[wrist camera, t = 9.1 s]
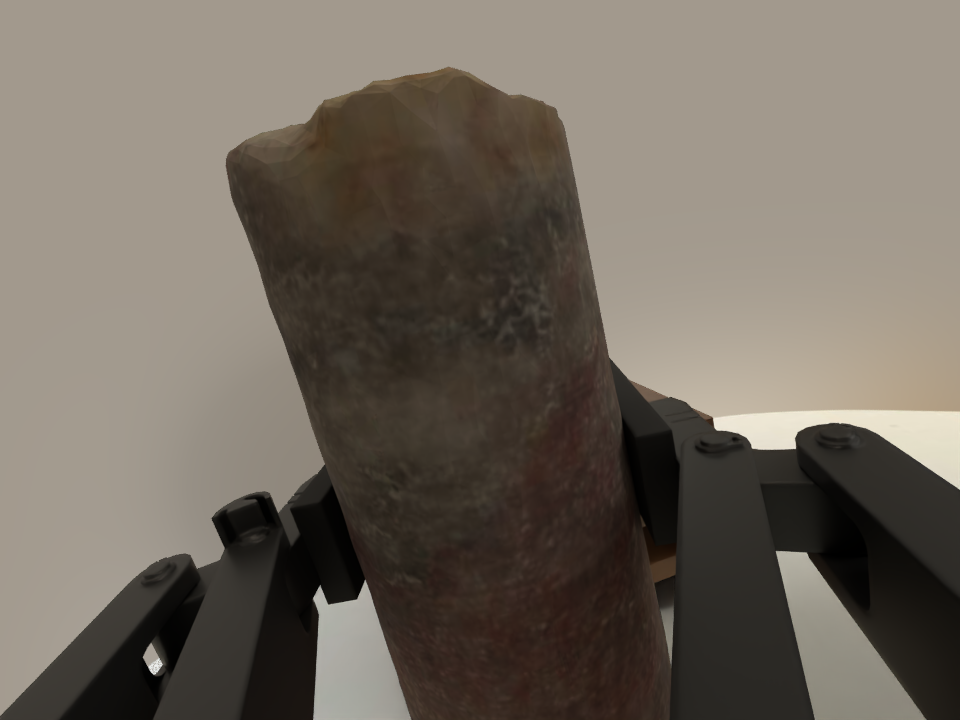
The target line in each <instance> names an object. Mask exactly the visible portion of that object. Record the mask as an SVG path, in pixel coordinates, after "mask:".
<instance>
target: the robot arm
mask: <svg viewBox="0 0 960 720" xmlns="http://www.w3.org/2000/svg"><path fill="white" fill-rule="evenodd" d="M609 360H610V365H611V370H612V374H613V379H614V384H615V389H616V394H617V398H618V403H619V407H620V412H621V417H622V423H623V429H624V435H625V441H626V446H627V451H628V456H629V461H630V466H631V471H632V476H633V481H634V486H635V491H636V496H637V501H638V507H639V512H640V515H641V517H642V519H643V521H644V523H645V525H646V527H647V529H648V531H649V533H650V535H651V537H652V539H653V541H654V543H655V546H660V545H666V544H672V543H677V548H676V572H675V597H674V621H673V645H672V669H671V693H670V717H669V720H815V718H814V714H813V710H812V705H811V701H810V697H809V692H808V688H807V684H806V679H805V675H804V671H803V667H802V662H801V658H800V654H799V649H798V645H797V641H796V637H795V632H794V628H793V624H792V619H791V615H790V611H789V607H788V602H787V598H786V594H785V589H784V585H783V581H782V576H781V572H780V568H779V564H778V559H777V555H776V551H790V552H807V554H808V556H809V558H810V560H811V561H812V563H813V564H814V565H815V567H816V568H817V569H818V571H819V572H820V574H821V575H822V576H823V578H824V579H825V580H826V582H827V583H828V585H829V586H830V587H831V589H832V590H833V591H834V593H835V594H836V596H837V597H838V598H839V600H840V601H841V603H842V604H843V605H844V607H845V608H846V609H847V611H848V612H849V614H850V615H851V616H852V618H853V619H854V620H855V622H856V623H857V625H858V626H859V627H860V629H861V630H862V631H863V633H864V634H865V636H866V637H867V638H868V640H869V641H870V642H871V644H872V645H873V647H874V648H875V649H876V651H877V652H878V653H879V655H880V656H881V658H882V659H883V660H884V662H885V663H886V664H887V666H888V667H889V669H890V670H891V671H892V673H893V674H894V676H895V677H896V678H897V680H898V681H899V682H900V684H901V685H902V687H903V688H904V689H905V691H906V692H907V693H908V695H909V696H910V698H911V699H912V700H913V702H914V703H915V704H916V706H917V707H918V709H919V710H920V711H921V713H922V714H923V715H924V717H925V718H926V720H960V490H959V489H958V488H956V487H955V486H953V485H952V484H950V483H949V482H947V481H946V480H945V479H943V478H942V477H940V476H939V475H937V474H936V473H934V472H933V471H931V470H930V469H928V468H927V467H925V466H924V465H922V464H921V463H919V462H918V461H916V460H915V459H914V458H912V457H911V456H909V455H908V454H906V453H905V452H903V451H902V450H900V449H899V448H897V447H896V446H894V445H893V444H891V443H890V442H888V441H887V440H885V439H884V438H883V437H881V436H880V435H878V434H876V433H874V432H872V431H870V430H868V429H866V428H861V427H857V426H853V425H850V424H843V423H841V424H839V423H829V424H823V425H816V426H812V427H807V428H805V429H803V430H801V431H800V432H798V434H797V436H796V438H795V441H796V449H787V450H758V449H752V448H751V444H750V442H749V441H748V439H747V438H746V437H744V436H742V435H740V434H737V433H733V432H728V431H717V430H716V429H714V428H713V427H712V426H711V425H710V424H709V423H708V422H707V421H706V420H705V419H703V418H702V417H700V415H699V414H698V413H697V412H696V411H694V410H693V408H691V407H690V406H689V405H688V404H687V403H686V402H684V401H681V400H678V399H675V398H672V397H669V398H664V399H660V400H655V401H650V402H647V400H646V399H645V398H644V397H643V396H642V395H641V394H640V392H639V391H638V390H637V389H636V388H635V387H634V385H633V384H632V383H631V382H630V381H629V380H628V379H627V377H626V376H625V375H624V374H623V373H622V372H621V371H620V369H619V368H618V367H617V366H616V365H615V364H614V363H613V361H612V360H611V359H610V358H609ZM212 521H213V523H214V525H215V528H216V529H217V532H218V534H219V536H220V538H221V541H222V543H223V545H224V547H225V550H224V552H223V555H222V557H221V559H220V560H219V561H217V562H214V563H211V564H209V565H207V566H204V567H201V568H198V569H197V568H196V566H195V564H194V562H193V560H192V558H191V555H188V554H179V555H175V556H172V557H169V558H163V559H161V560H159V562H155V563H153V564H152V565H150V566H149V567H148V568H147V569H146V570H144V571H143V572H141V573H140V574H139V575H138V576H136V577H135V578H134V579H133V580H132V581H131V582H130V583H129V584H128V585H127V586H126V587H125V588H124V589H123V590H122V591H121V592H120V593H119V594H118V595H117V596H116V597H115V598H114V599H113V600H112V601H111V602H110V603H109V604H108V605H107V607H106V608H105V609H104V610H103V611H102V612H101V613H100V614H99V615H98V616H97V617H96V618H95V619H94V620H93V621H92V622H91V623H90V624H89V625H88V626H87V627H86V628H85V629H84V630H83V631H82V632H81V633H80V634H79V635H78V637H76V639H75V640H74V641H73V642H72V643H71V644H70V645H69V646H68V647H67V648H66V649H65V650H64V651H63V652H62V653H61V654H60V655H59V656H58V657H57V658H56V659H55V660H54V661H53V662H52V663H51V664H50V665H49V666H48V667H47V669H45V671H44V672H43V673H42V674H41V675H40V676H39V677H38V678H37V679H36V680H35V681H34V682H33V683H32V684H31V685H30V686H29V687H28V688H27V689H26V690H25V691H24V692H23V693H22V694H21V695H20V696H19V698H17V699H16V701H15V702H14V703H13V704H12V705H11V706H10V707H9V708H8V709H7V710H6V711H5V712H4V713H3V714H2V715H1V716H0V720H313V714H314V696H315V677H316V658H317V639H318V621H319V614H318V610H317V607H316V605H315V602H314V600H313V597H314V595H315V594H316V592H317V590H318V588H319V586H320V585H321V588H322V590H323V593H324V595H325V598H326V600H327V603H328V604H334V603H340V602H345V601H351V600H356V599H357V598H358V596H359V594H360V591H361V589H362V586H363V584H364V581H365V577H364V574H363V571H362V569H361V566H360V563H359V561H358V558H357V555H356V552H355V550H354V547H353V544H352V542H351V539H350V536H349V532H348V529H347V525H346V522H345V519H344V515H343V512H342V509H341V506H340V504H339V501H338V498H337V495H336V493H335V490H334V487H333V485H332V482H331V479H330V476H329V474H328V471H327V468H326V465H324V466H323V467H322V469H321V470H320V471H319V472H318V474H316V475H314V476H313V477H312V478H310V479H309V480H308V481H306V482H305V483H304V484H302V486H301V487H300V488H299V489H298V490H297V492H296V493H295V494H294V496H292V498H291V499H290V500H289V501H288V504H286V505H285V506H284V507H283V508H282V510H281V511H280V512H279V513H278V512H277V510H276V507H275V505H274V502H273V500H272V497H271V495H270V493H268V492H256V493H253V494H249V495H246V496H243V497H241V498H239V499H237V500H234V501H233V502H231V503H229V504H227V505H226V506H224V507H223V508H221V509H220V510H219V511H218V512H216V513H215V515H214V516H213V517H212ZM150 643H152V645H153V646H154V648H155V650H156V652H157V654H158V656H159V658H160V660H161V662H162V664H163V665H162V667H161V668H160V670H159V671H158V672H157V673H156V674H155V675H153V674H152V673H151V672H150V670H149V668H148V666H147V665H146V663H145V661H144V659H143V655H144V653H145V651H146V649H147V647H148V646H149V644H150Z"/></svg>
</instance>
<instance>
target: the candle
mask: <svg viewBox="0 0 960 720" xmlns="http://www.w3.org/2000/svg"><path fill="white" fill-rule="evenodd" d="M226 169H227V175H228V180H229V185H230V191H231V196H232V199H233V203H234V205H235V208H236V210H237V212H238V215H239V217H240V220H241V222H242V225H243V227H244V230H245V232H246V235H247V237H248V240H249V243H250V245H251V248H252V251H253V254H254V256H255V259H256V261H257V264H258V267H259V271H260V274H261V278H262V281H263V285H264V288H265V291H266V295H267V299H268V302H269V305H270V308H271V310H272V313H273V315H274V318H275V320H276V323H277V325H278V328H279V330H280V333H281V335H282V338H283V340H284V343H285V346H286V349H287V352H288V355H289V358H290V361H291V364H292V367H293V369H294V372H295V375H296V378H297V381H298V384H299V387H300V390H301V393H302V396H303V399H304V402H305V405H306V409H307V412H308V415H309V419H310V422H311V426H312V429H313V431H314V434H315V437H316V440H317V443H318V446H319V449H320V451H321V454H322V457H323V460H324V462H325V465H326V468H327V471H328V474H329V476H330V479H331V482H332V485H333V487H334V490H335V493H336V495H337V498H338V501H339V504H340V506H341V509H342V512H343V515H344V519H345V522H346V525H347V529H348V532H349V536H350V539H351V542H352V544H353V547H354V550H355V552H356V555H357V558H358V561H359V563H360V566H361V569H362V571H363V574H364V577H365V579H366V582H367V585H368V587H369V590H370V593H371V596H372V599H373V603H374V606H375V609H376V613H377V616H378V619H379V622H380V625H381V628H382V631H383V634H384V637H385V640H386V644H387V647H388V650H389V652H390V655H391V658H392V661H393V664H394V666H395V669H396V672H397V675H398V678H399V683H400V686H401V689H402V691H403V694H404V697H405V701H406V704H407V707H408V711H409V714H410V717H411V720H669V717H670V693H671V664H670V658H669V653H668V647H667V642H666V636H665V631H664V626H663V622H662V617H661V613H660V608H659V604H658V600H657V595H656V590H655V586H654V581H653V576H652V571H651V566H650V561H649V557H648V552H647V547H646V543H645V538H644V533H643V529H642V523H641V518H640V512H639V507H638V501H637V496H636V491H635V486H634V481H633V476H632V471H631V466H630V461H629V456H628V451H627V446H626V441H625V435H624V429H623V423H622V417H621V412H620V407H619V403H618V398H617V394H616V389H615V384H614V379H613V374H612V370H611V365H610V360H609V355H608V349H607V344H606V340H605V334H604V329H603V323H602V318H601V313H600V307H599V302H598V297H597V291H596V286H595V281H594V275H593V270H592V265H591V260H590V255H589V250H588V245H587V240H586V234H585V229H584V225H583V219H582V214H581V209H580V203H579V198H578V193H577V187H576V183H575V177H574V172H573V167H572V162H571V157H570V153H569V148H568V143H567V138H566V133H565V128H564V125H563V123H562V121H561V120H560V119H559V117H558V114H557V110H556V108H554V107H551V106H549V105H546V104H545V103H544V102H543V101H538V100H535V99H533V98H530V97H527V96H524V95H508V94H506V93H504V92H502V91H500V90H498V89H496V88H494V87H492V86H490V85H489V84H487V83H485V82H483V81H482V80H480V79H478V78H477V77H475V76H473V75H472V74H470V73H468V72H465V71H462V70H458V69H455V68H451V67H447V68H444V69H441V70H438V71H435V72H431V73H423V74H415V75H407V76H403V77H399V78H395V79H392V80H382V81H373V82H372V83H370V84H369V85H367V86H366V87H364V88H363V89H362V90H359V91H354V92H351V93H349V94H346V95H342V96H339V97H335V98H332V99H329V100H324V101H323V103H322V104H321V105H320V106H318V108H317V110H316V111H315V113H314V115H313V116H312V118H311V119H310V120H309V121H308V122H307V123H305V124H298V125H290V126H288V127H286V128H283V129H279V130H274V131H269V132H264V133H260V134H258V135H256V136H254V137H252V138H250V139H248V140H245V141H244V142H243V143H241V144H240V145H239V146H237V147H236V148H235V149H233V150H231V151H230V152H229V153H228V156H227V158H226Z"/></svg>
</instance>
